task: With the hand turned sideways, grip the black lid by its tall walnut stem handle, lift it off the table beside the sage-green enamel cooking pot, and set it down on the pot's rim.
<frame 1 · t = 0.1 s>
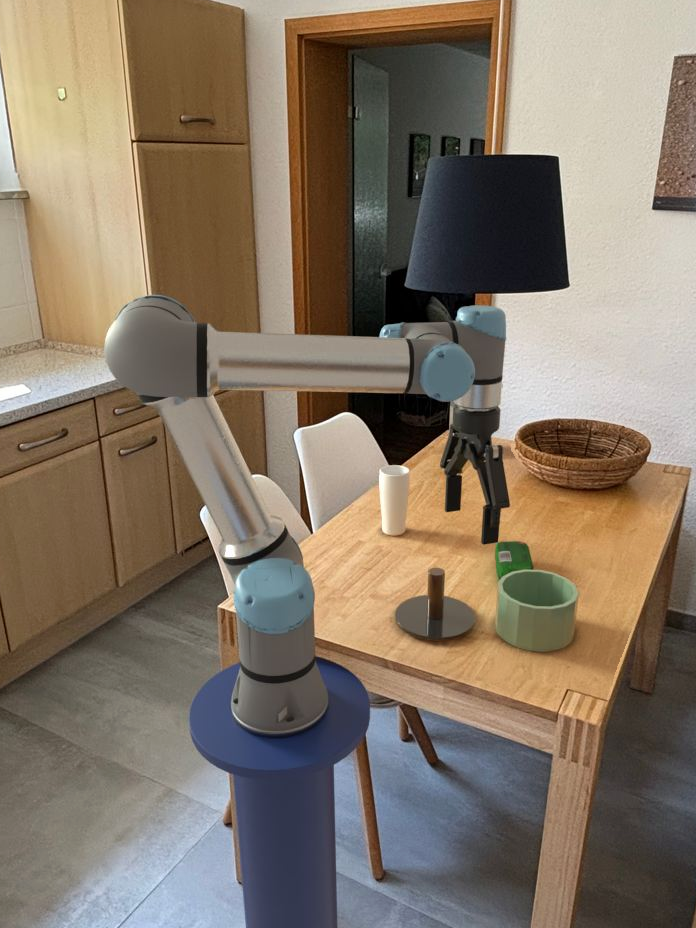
hand: (470, 526, 131), 20 cm above the table, tool pointing down, fingers open, 13 cm apart
snack package: (512, 575, 157), on the table
drinking glass: (393, 532, 176), on the table
pot: (533, 629, 138), on the table
liquor: (465, 452, 225), on the table
lid: (434, 617, 141), point 1 cm above the table
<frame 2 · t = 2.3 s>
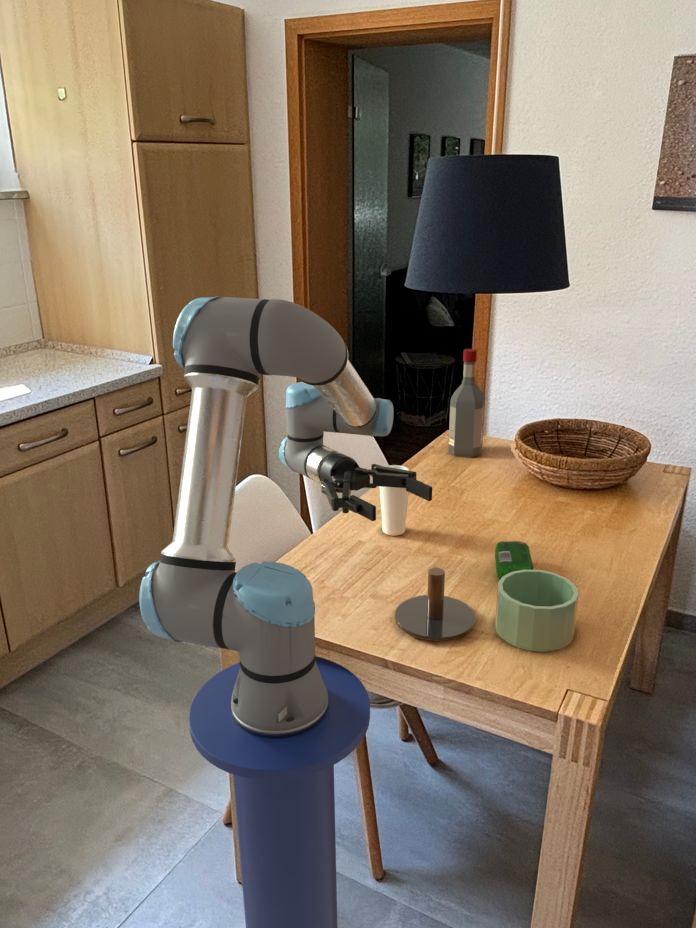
hand: (403, 503, 140), 20 cm above the table, tool horizontal, fingers open, 13 cm apart
nothing on the table moved.
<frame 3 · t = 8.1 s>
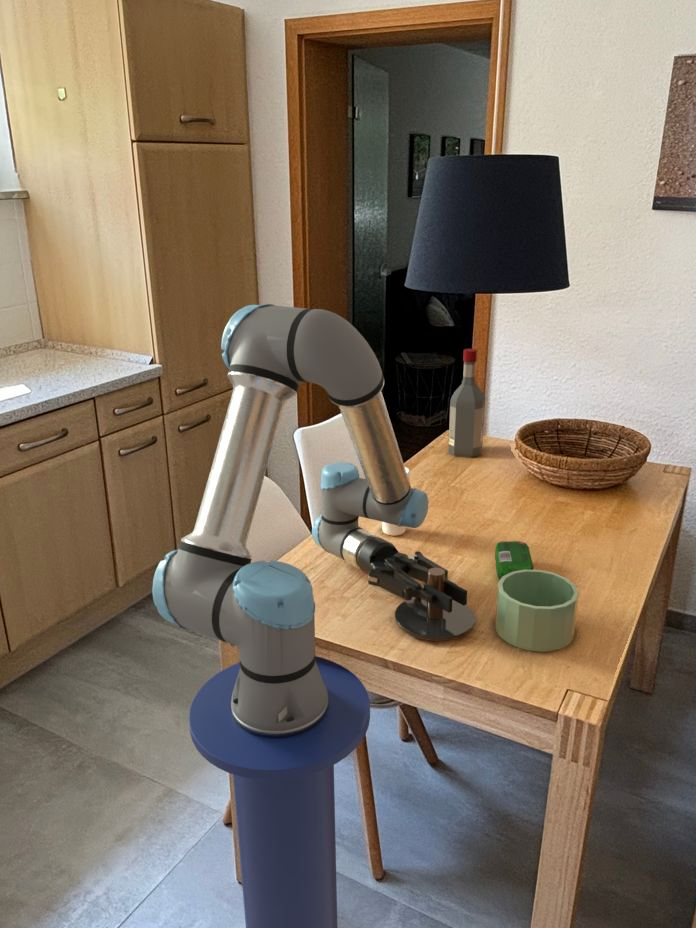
hand: (458, 601, 135), 6 cm above the table, tool horizontal, fingers closed on lid, 3 cm apart
lid: (434, 617, 141), point 1 cm above the table, touching gripper
everything else where it was.
when the fingers open (14 cm above the table, at t = 15.1 s): lid stays where it is, resting on pot.
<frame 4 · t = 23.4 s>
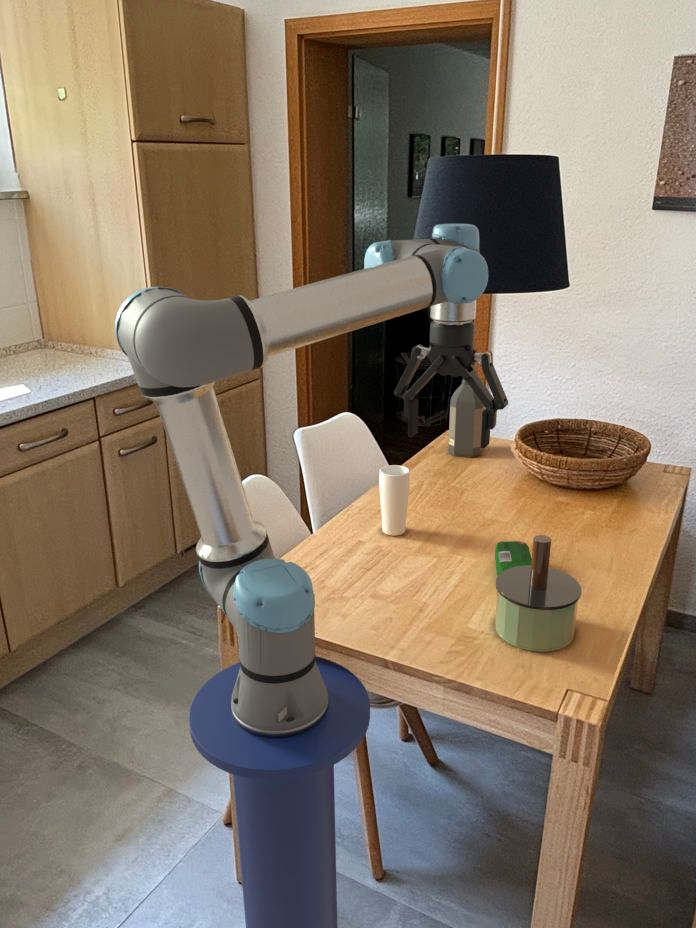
hand: (448, 440, 137), 32 cm above the table, tool pointing down, fingers open, 13 cm apart
lid: (537, 588, 135), point 8 cm above the table, touching pot
everything else where it was.
at the end: lid 0.0 cm off-centre on the pot, point 8.5 cm above the pot's base; lid tilted 0°; the gripper is holding nothing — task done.
